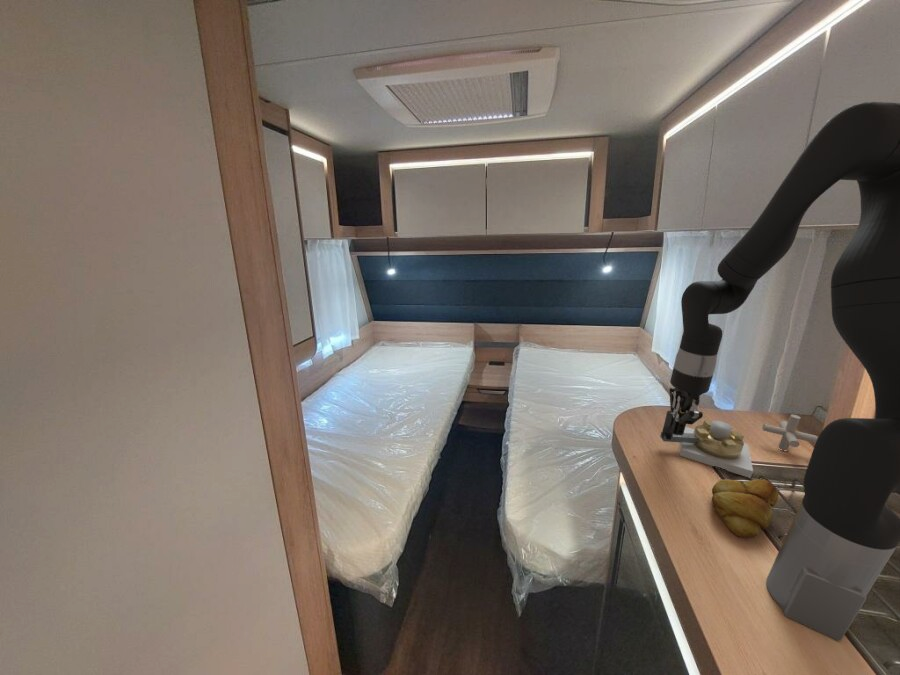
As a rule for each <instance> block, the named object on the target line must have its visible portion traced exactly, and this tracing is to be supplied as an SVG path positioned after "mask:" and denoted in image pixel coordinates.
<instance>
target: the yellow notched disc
mask: <svg viewBox="0 0 900 675" xmlns="http://www.w3.org/2000/svg"><path fill="white" fill-rule="evenodd" d="M673 420H674V418H673V412H671V410H667V411H666V416H665V420H664V423H663V427H662V431H661V432H660V436H659V437H660V439H661V440H662V441H663V442H669V443H670V442H671V443H680V444H681V443H694V445H695V446H696V447H697V448H699V449H700V450H702V451H703V452H705V453H707V454H710V455H712V456H715V457H718V458H723V459H736V458H738V457H739V456H740V454H741V451H742V448H743V446H744V443H745V442H744V441H743V439H744V438H745V435H744V434H742V432H740V431H739V430H731V433H730V436H729V439H728V440H726V439H723V440H719V439H716V438H714V437H712V436H711V435H710V434H709V431H710V427H711V424H712V422H713V421H714V420H703V424H700V425H699V424H698V425H697V426H695V427H694V429H695V430H694V433H693V434H692V433H684V434H683V435H674V434H673V432H672V431H671V428H672V424H673Z"/></svg>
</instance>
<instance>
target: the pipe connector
mask: <svg viewBox="0 0 900 675" xmlns="http://www.w3.org/2000/svg"><path fill="white" fill-rule="evenodd" d="M800 420H801V417H800V416H799V415H796V414H790V417H789V418H788V421H787V420H781V421H780V422H779V424H778V425H779V426H780V427H779V426H776V425H772V424H771V425H770V424H767V423H763V424H762V431H763V432H767V433H768V432H769V433H770V434H771V433H772V434H776V435H780V436H781V439H780V441H779V444H778V446H777V448H778V447H779V448H780V449H782V450H787V451H788V450H789V448H790V447H792V448H798V447H799V446H800V442H799V440H802V441H806V442H809V443H813V444H816V441H817V439H818V437H819V436H817V435H814V434H810V433H807V432H802V431H797V428H798V426H799V423H800Z"/></svg>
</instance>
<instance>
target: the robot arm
mask: <svg viewBox="0 0 900 675" xmlns="http://www.w3.org/2000/svg"><path fill="white" fill-rule="evenodd" d="M840 180H841V181H842V180H843V181H856V182H857V185H858V189H859V196H860V218H859V223H858V226H857V227H856V230H855V233H854V234H853V236H852V238H851V239H850V241H849V242H848V244H847V246H846V247H845V249H844V250H843V252H842V253H841V255H840V256H839V259H838V261H837V262H836V263H835V266H834V268H833V270H832V274H831V281H830V300H831V301H830V302H831V317H832V321H833V325H834V327H835V329H836V331H837V332H838V334H839V336H840V337H841V339H842V340H843V341H844V343H845V344H846V345H847V347H848V348H849V350H850V351H851V352H852V353H853V354H854V356H855V357H856V358H857V359H858V361H859V362H860V363H861V365H862V366H863V367H864V369H865V370H866V372H867V374H868V376H869V378H870V381H871V384H872V388H873V393H874V404H875V407H874V408H875V414H874V418H869V417H868V418H866V417H865V418H862V417H861V418H860V417H846V418H844V417H843V418H839V419H835V420H833V421H831V422H829V423H828V424H827V425H826V426H825V427H824V428H823V429H822V430H821V432H820V434H819V435H818V436H817V437H818V439H817V441H816V443H814V447H813V449H812V453H811V456H810V458H809V462H808V465H807V466H806V471H805V474H804V477H803V489H804V495H803V498H802V500H801V503H800V505H799V507H798V509H797V512H796V514H795V516H794V518H793V521H792V522H791V525H789V529H788V530H787V533H786V535H785V537H784V540H783V541H782V544H781V546H780V548H779V550H778V552H777V554H776V558H775V559H774V562H773V564H772V566H771V568H770V571H769V573H768V575H767V578H766V581H765V582H766V588H767V590H768V592H769V594H770V596H771V597H772V599H773V600H774V601H775V602H776V604H778V606H779V607H780V608H781V610H782V614H783V615H784V616H785V617H787V618H789V619H791V620H793V621H796V622H797V623H799V624H802V625H803V626H805V627H808V628H810V629H812V630H815V631H816V632H819V633H821V634H822V635H823V634H824V635H825V636H827V637H830V638H831V639H834V640H836V641H838V642H841V641H842V640H843V638H844V636H845V635H846V632H848V630H849V628H850V627H851V625H852V623H853V622H854V620H855V618H856V617H857V615H858V614H859V612H860V610H861V609H862V607H863V605H864V603H865V602H866V600H867V596H868V594H869V592H870V590H871V589H872V587H873V586H874V584H875V582H876V580H877V579H878V578H879V576H880V574H881V573H882V571H883V569H884V567H885V566H886V565H887V563H888V562H889V560H890V558H891V556H892V555H893V553H894V552H895V550H896V549H897V547H898V545H899V543H900V517H899V516H898V515H897V514H896V513H895V512H894V511H892V509H890V507H887V506H886V503H887V501H888V500H889V497H890V496H891V495H892V494H900V102H888V101H887V102H886V101H885V102H883V101H865V102H861V103H860V102H859V103H856V104H853V105H849V106H848V107H846V108H844V109H842V110H840V111H839V112H838V113H835V115H833V116H832V117H831V118H830V119H828V120H827V121H826V122H825V123H824V124H823V125H822V127H820V129H819V130H818V131H817V132H816V133H815V134H814V136H813V137H812V139H811V140H810V141H809V143H808V144H807V145H806V147H805V148H804V150H802V152H801V154H800V155H799V157H798V159H797V160H796V161H795V163H794V164H793V166H792V167H791V169H790V171H789V172H788V173H787V175H786V176H785V178H784V179H783V180H782V182H781V184H780V185H779V187H778V188H777V190H776V191H775V192H774V193H773V196H772V197H771V199H770V200H769V202H768V204H767V205H766V207H764V209H763V211H762V212H761V214H760V215H759V216H758V218H757V219H756V221H755V222H754V223H753V225H752V226H751V227H750V228H749V229H748V231H746V232H745V234H744V235H743V237H741V239H739V241H737V243H736V244H735V245H734V246H733V247H732V248H731V249H730V251H729V252H728V253H727V254H725V256H724V257H723V258H722V259H721V261H720V262H719V263H718V266H717V270H716V271H717V274H718V276H719V277H720V278H721V279H720V280H701V281H700V280H699V281H695V282H692V283H691V284H689V285H688V286H687V287H686V288H685V290H684V291H683V293H682V296H681V302H680V304H681V314H682V326H683V328H682V329H683V330H682V335H681V339H680V343H679V347H678V349H677V353H676V355H675V359H674V364H673V368H672V372H671V376H670V380H669V382H670V384H671V387H670V388H669V389H668V390H669V403H670V405H669V406H670V407H669V408H670V411H671V412H673V418H674V420H673V424H672V428H671V431H672V432H673V434H674V435H683V434H684V430H685V427H687V426H686V425H694V424H695V423H696V422H697V421H699V420H700V419H702V418H703V416H704V415H703V414H704V413H703V412H702V411H698V410H699V409H698V406H699V404H700V396H701V395H703V394H706V393H708V392H709V391H710V388H711V384H712V380H713V376H714V373H715V369H716V367H717V366H716V365H717V358H718V353H719V349H720V346H721V342H722V338H723V330H722V328H721V327H720V326H719V325H715V324H712V323H710V322H709V315H725V314H729V313H732V312H734V311H735V310H738V309H739V308H740V307H742V305H743V304H744V303H745V302H746V300H747V299H748V298H749V296H750V294H751V293H752V291H753V290H754V288H755V286H756V284H757V283H758V280H760V279H761V278H763V276H764V275H766V274H767V273H768V272H769V271H770V270H771V269H772V268H773V267H775V265H777V264H778V262H780V260H782V259H783V258H784V257H785V255H786V254H787V253H788V252H789V250H790V249H791V247H792V246H793V244H794V242H795V239H796V236H797V233H798V231H799V227H800V225H801V222H802V219H803V218H804V216H805V214H806V213H807V211H808V210H809V208H810V207H811V206H812V205H813V203H814V202H815V201H816V200H817V199H818V198H820V197H821V196H822V195H823V194H824V193H826V191H828V190H829V189H830V188H832V186H834V185H835V184H836V183H838V182H839V181H840ZM672 386H673V387H672Z"/></svg>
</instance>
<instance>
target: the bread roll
mask: <svg viewBox="0 0 900 675" xmlns="http://www.w3.org/2000/svg"><path fill="white" fill-rule="evenodd" d="M711 494H712V497H711V498H712V499H711V501H712V502H711V503H712V508H713V510H714V512H715V513H716V514H717V515H718V517H719V518H721V519H722V521H723V523H724V524H725V526H726V527H727V528H728V529H729V531H731V532H732V533H733V534H734V535H736V536H739V537H741V538H744V539H754V538H756V537H759V535H760V534H761V533H762V532H761V531H763V530H766V529H767V528H768V527H769V525H770V523H771V520H772V518H773V512H774V508H773V507H775V505H776V504H777V503H778V500H779V495H780V494H779V491H778V489H777V487H776V486H775V485H773V483H772V482H770V481H768V480H766V479H760V478H759V479H752V480H744V482H741V481H740V480H737V479H731V478H730V479H728V478H727V479H726V478H725V479H719V481H717V482H716V483H715V484H714V485H713V486H712V489H711Z"/></svg>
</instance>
